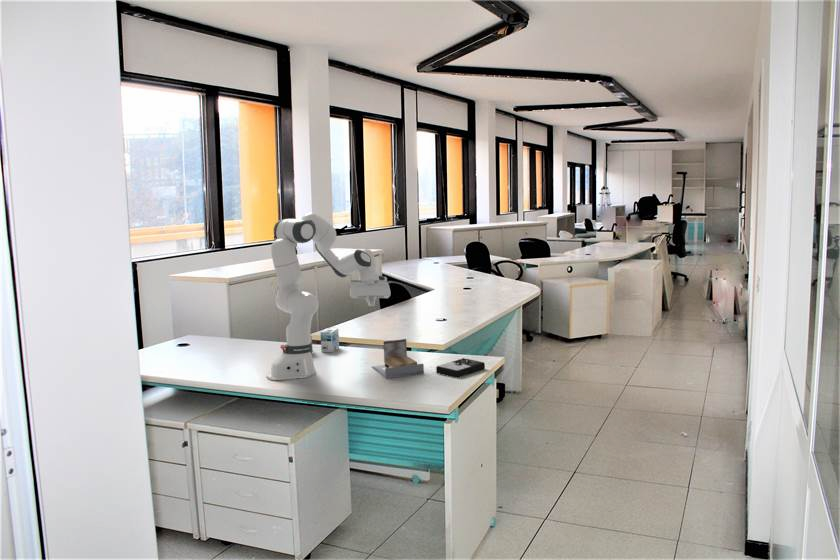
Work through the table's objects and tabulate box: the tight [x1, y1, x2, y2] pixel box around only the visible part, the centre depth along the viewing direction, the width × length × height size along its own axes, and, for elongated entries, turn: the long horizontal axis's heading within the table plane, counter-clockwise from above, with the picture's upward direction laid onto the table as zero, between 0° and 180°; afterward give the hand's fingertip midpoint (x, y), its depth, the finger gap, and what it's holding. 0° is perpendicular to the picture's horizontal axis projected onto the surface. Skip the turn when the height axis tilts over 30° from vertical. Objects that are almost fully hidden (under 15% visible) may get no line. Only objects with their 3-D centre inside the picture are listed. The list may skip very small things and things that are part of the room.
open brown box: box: [382, 338, 418, 368], centre depth 315 cm, size 11×14×12 cm
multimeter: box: [435, 357, 486, 379], centre depth 313 cm, size 13×19×5 cm
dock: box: [370, 363, 425, 380], centre depth 319 cm, size 18×24×6 cm
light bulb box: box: [320, 327, 340, 353], centre depth 363 cm, size 11×7×11 cm, turn 168°
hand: (371, 305), depth 335 cm, fingers closed
